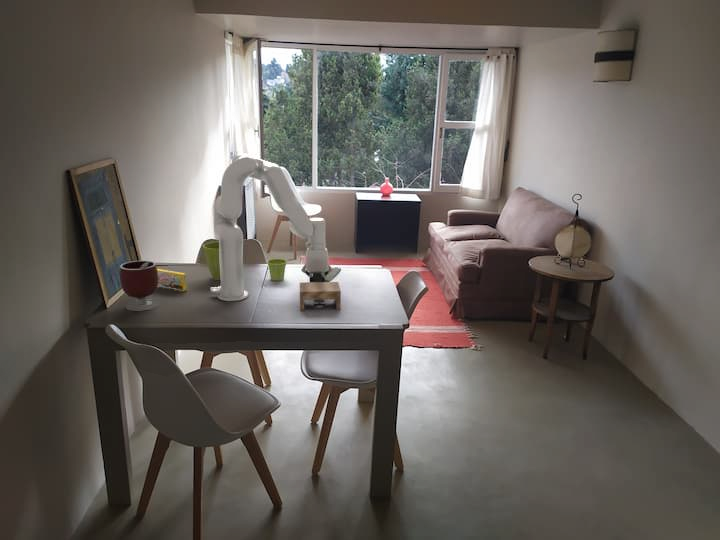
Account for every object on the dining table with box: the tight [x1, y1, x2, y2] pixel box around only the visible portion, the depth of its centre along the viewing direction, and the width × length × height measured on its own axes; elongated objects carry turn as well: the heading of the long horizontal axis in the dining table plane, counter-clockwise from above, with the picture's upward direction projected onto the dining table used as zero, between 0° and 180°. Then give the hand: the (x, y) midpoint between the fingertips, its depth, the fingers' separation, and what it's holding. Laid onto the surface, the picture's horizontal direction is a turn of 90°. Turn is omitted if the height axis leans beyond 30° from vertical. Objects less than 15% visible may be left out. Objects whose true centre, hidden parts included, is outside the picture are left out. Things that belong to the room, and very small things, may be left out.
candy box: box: [157, 268, 187, 290], centre depth 235 cm, size 16×2×8 cm, turn 68°
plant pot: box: [266, 258, 288, 282], centre depth 252 cm, size 9×9×9 cm
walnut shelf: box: [299, 281, 342, 312], centre depth 219 cm, size 16×12×8 cm
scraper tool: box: [312, 272, 325, 302], centre depth 235 cm, size 4×21×7 cm, turn 7°
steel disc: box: [313, 301, 327, 309], centre depth 219 cm, size 5×5×2 cm
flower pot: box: [202, 241, 221, 281], centre depth 251 cm, size 15×15×16 cm
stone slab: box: [325, 266, 342, 282], centre depth 262 cm, size 22×3×10 cm
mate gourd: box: [119, 260, 158, 307], centre depth 212 cm, size 16×14×20 cm
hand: (317, 284), depth 243 cm, fingers closed on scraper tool, 4 cm apart
